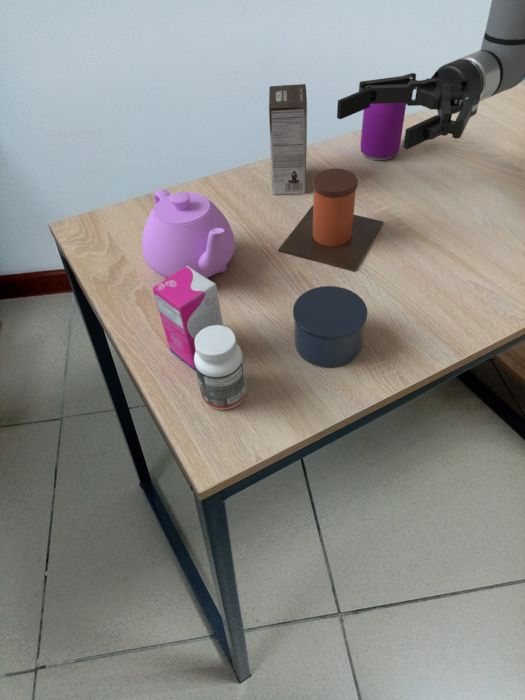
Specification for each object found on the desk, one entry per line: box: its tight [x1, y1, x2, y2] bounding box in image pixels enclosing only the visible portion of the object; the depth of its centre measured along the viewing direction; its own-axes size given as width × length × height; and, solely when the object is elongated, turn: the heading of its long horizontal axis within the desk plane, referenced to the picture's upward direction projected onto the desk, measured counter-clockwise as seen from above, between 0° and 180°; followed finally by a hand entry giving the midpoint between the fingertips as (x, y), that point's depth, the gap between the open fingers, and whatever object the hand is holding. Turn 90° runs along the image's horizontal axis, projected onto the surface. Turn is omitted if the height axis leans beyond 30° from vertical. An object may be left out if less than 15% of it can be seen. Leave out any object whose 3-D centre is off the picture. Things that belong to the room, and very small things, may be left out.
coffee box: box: [268, 83, 308, 196], centre depth 94 cm, size 9×6×16 cm
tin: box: [292, 285, 368, 369], centre depth 69 cm, size 9×9×6 cm
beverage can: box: [360, 103, 407, 161], centre depth 102 cm, size 8×8×12 cm
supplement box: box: [152, 266, 224, 372], centre depth 68 cm, size 6×6×12 cm
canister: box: [312, 168, 359, 246], centre depth 84 cm, size 7×7×10 cm
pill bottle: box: [194, 325, 247, 411], centre depth 63 cm, size 6×6×10 cm
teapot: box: [141, 189, 236, 279], centre depth 79 cm, size 20×14×12 cm
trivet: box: [277, 205, 384, 272], centre depth 88 cm, size 13×14×1 cm
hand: (370, 124), depth 78 cm, fingers open, 13 cm apart
